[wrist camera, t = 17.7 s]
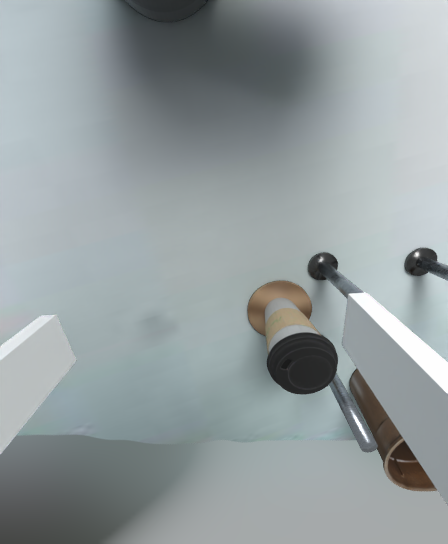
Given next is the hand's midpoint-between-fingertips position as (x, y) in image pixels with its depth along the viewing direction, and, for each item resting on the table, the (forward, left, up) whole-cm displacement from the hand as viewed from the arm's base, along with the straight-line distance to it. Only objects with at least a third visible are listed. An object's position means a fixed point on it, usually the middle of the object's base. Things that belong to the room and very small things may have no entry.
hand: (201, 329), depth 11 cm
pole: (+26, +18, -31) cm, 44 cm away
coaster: (+17, +10, -31) cm, 36 cm away
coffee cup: (+17, +10, -30) cm, 36 cm away
